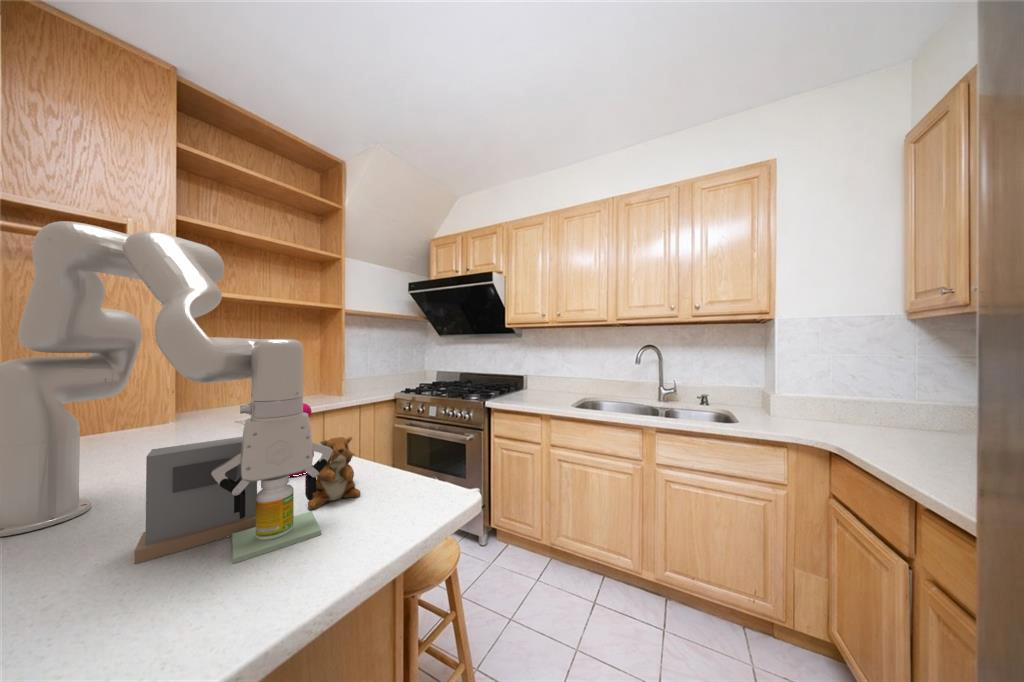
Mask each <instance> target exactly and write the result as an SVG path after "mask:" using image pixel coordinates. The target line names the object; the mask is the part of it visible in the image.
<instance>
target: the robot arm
mask: <svg viewBox="0 0 1024 682" xmlns="http://www.w3.org/2000/svg"><path fill="white" fill-rule="evenodd" d="M31 246H32V247H31V253H32V254H31V255H32V261H33V270H34V276H33V281H32V285H31V287H30V290H29V294H28V296H27V300H26V303H25V305H24V309H23V312H22V315H21V319H20V322H19V325H18V329H17V340H18V342H19V344H20V345H21V346H22V347H24V348H25V349H27V350H30V351H32V352H38V353H45V354H46V353H48V354H50V353H51V354H90V353H91V354H90V355H86V356H83V355H82V356H79V355H78V356H75V355H73V356H68V355H67V356H66V355H65V356H63V355H61V356H60V355H59V356H33V357H21V358H14V359H9V360H6V361H3V362H1V363H0V538H1V537H8V536H13V535H18V534H24V533H29V532H32V531H36V530H40V529H44V528H47V527H51V526H54V525H58V524H60V523H63V522H65V521H69V520H72V519H74V518H77V517H78V516H80V515H83V514H84V513H86V512H87V511H89V510H90V509H91V507H92V501H91V500H89V499H85V498H80V467H81V466H80V461H81V458H80V457H81V456H80V455H81V454H80V452H81V451H80V450H81V426H80V422H79V420H78V419H77V417H76V416H75V415H74V414H73V413H71V412H70V411H69V410H68V409H66V407H65V406H64V405H65V404H69V403H77V402H84V401H85V402H86V401H94V400H101V399H107V398H111V397H113V396H116V395H118V394H120V393H121V392H122V391H123V390H124V389H125V387H126V386H127V384H128V382H129V380H130V377H131V374H132V371H133V368H134V364H135V361H136V359H137V356H138V353H139V351H140V350H139V349H140V347H141V344H142V340H143V328H142V325H141V323H140V321H139V319H138V318H137V317H136V316H135V315H134V314H132V313H131V312H128V311H126V310H121V309H115V308H106V307H105V308H102V306H103V302H104V299H105V297H106V291H107V290H106V285H105V284H104V281H103V280H102V278H101V277H100V275H99V274H106V275H113V276H117V277H123V278H129V279H133V280H134V279H135V280H141V281H142V282H143V284H144V285H145V287H146V288H147V289H148V290H149V292H150V293H151V294H152V295H153V296H154V298H155V299H156V300H157V302H158V303H159V304H160V305H161V307H162V308H161V309H160V311H159V312H158V314H157V316H156V318H155V319H156V320H155V324H154V326H155V327H154V332H155V333H154V335H155V340H156V341H155V342H156V344H157V347H158V348H159V350H160V352H161V353H162V354H163V356H164V357H165V359H166V360H167V361H168V362H169V364H170V365H171V366H172V367H173V368H174V370H176V371H177V372H178V373H179V374H180V375H181V376H182V377H183V378H185V379H187V380H189V381H191V382H195V383H199V384H210V383H212V384H213V383H221V382H231V381H232V382H233V381H241V380H242V381H243V380H244V381H245V380H250V383H251V384H250V385H251V386H250V402H248V404H247V403H246V404H244V405H243V404H242V405H240V406H239V413H240V414H246V415H247V414H248V415H249V416H250V418H247V419H246V420H245V422H244V426H243V430H242V436H241V437H242V445H241V454H239V455H237V456H235V457H233V458H232V459H230V460H228V461H226V462H225V463H223V464H221V465H219V466H218V467H216V468H214V469H213V470H212V473H211V475H212V476H213V477H214V479H215V480H216V481H217V482H218V484H219V485H220V487H222V488H224V489H225V490H227V491H229V492H231V493H232V494H233V495H234V513H237V512H239V516H240V519H242V518H244V517H245V489H244V488H245V487H246V486H247V485H248V484H249V483H250V482H254V481H257V482H259V481H260V482H261V480H265V479H270V478H274V477H279V476H284V475H288V474H293V473H297V472H301V471H306V472H307V474H305V476H304V478H305V480H304V481H305V483H304V484H305V485H304V487H305V488H304V491H305V492H304V493H305V494H304V495H305V497H306V499H307V500H308V501H309V500H313V493H315V492H316V480H317V476H318V474H319V472H320V471H321V470H322V469H323V468H324V467H325V466H326V464H327V461H328V460H329V458H330V456H331V454H332V452H333V450H332V449H331V448H330V447H327V446H323V445H321V444H319V443H315V442H313V438H312V429H311V428H312V426H311V421H310V417H309V416H308V414H307V413H304V412H303V403H304V346H303V344H302V343H301V341H299V340H297V339H292V338H291V339H289V338H275V339H274V338H264V339H260V338H245V337H244V338H243V337H242V338H241V337H223V336H221V337H220V336H219V337H217V336H216V337H214V336H213V337H212V336H211V337H210V336H208V334H207V333H205V332H204V330H203V329H202V328H201V326H200V325H199V324H198V323H197V321H196V319H197V318H200V317H202V316H204V315H207V314H208V313H210V312H212V311H213V310H215V308H217V307H218V306H219V304H220V303H221V301H222V298H223V295H222V292H221V290H220V288H219V286H218V285H217V284H216V283H218V282H220V281H221V280H222V279H223V277H224V274H225V271H226V270H225V263H224V261H223V258H222V257H221V255H220V254H219V253H218V252H217V251H216V250H215V249H213V248H211V247H210V246H208V245H205V244H202V243H199V242H195V241H193V240H188V239H184V238H182V237H178V236H174V235H171V234H169V233H164V232H158V231H139V232H136V233H133V234H127V233H124V232H121V231H116V230H114V229H110V228H106V227H101V226H98V225H93V224H89V223H82V222H77V221H69V220H67V221H66V220H63V221H54V222H51V223H48V224H46V225H44V226H43V227H42V228H41V229H40V230H39V231H38V232H37V233H36V235H35V237H34V239H33V242H32V245H31ZM313 451H314V453H319V454H321V456H320V457H319V459H318V460H317V461H316V462H315V463H314V464H313V460H314V459H313V458H314V457H313ZM239 464H240V471H241V476H240V477H239V478H238V480H237V481H236V482H235V481H234V480H232V479H230V478H228V477H227V476H226V474H225V473H226V472H227V471H229V470H230V469H232V468H234V467H235V466H237V465H239Z"/></svg>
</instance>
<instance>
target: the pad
mask: <svg viewBox="0 0 1024 682" xmlns="http://www.w3.org/2000/svg"><path fill="white" fill-rule="evenodd" d="M321 535H322V529H321V527H320V524H319V523H318V520H317V519H316V517H315V514H314V513H313V511H312V510H311V511H307V512H304V513H303V512H302V513H301V514H300V513H299V514H296V515H293V528H292V529H291V530H290V531H289V532H288V533H287V534H285V535H283V536H280V537H277V538H274V539H269V540H260V539H258V538H257V537H256V527H254V528H251V529H247V530H244V531H240V532H237V533H233V534H232V536H231V537H232V538H231V541H232V542H231V543H232V546H231V547H232V564H233V565H234V564H237V563H239V562H244V561H246V560H249V559H252V558H255V557H259V556H261V555H265V554H266V553H270V552H274V551H276V550H278V549H282V548H286V547H288V546H292V545H295V544H297V543H300V542H303V541H306V540H310V539H311V538H315V537H318V536H321Z"/></svg>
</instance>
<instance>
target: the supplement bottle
mask: <svg viewBox="0 0 1024 682" xmlns="http://www.w3.org/2000/svg"><path fill="white" fill-rule="evenodd" d="M289 480H290V477H289V474H288V475H284V476H279V477H274V478H270V479H265V480H260V488H261V490H260V491H257V496H256V537H257V538H258V539H260V540H269V539H274V538H277V537H280V536H283V535H285V534H287V533H288V532H289V531H290V530H291V529H292V528H293V516H294V487H293V486H292V485H291V484H289V482H290V481H289Z"/></svg>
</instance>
